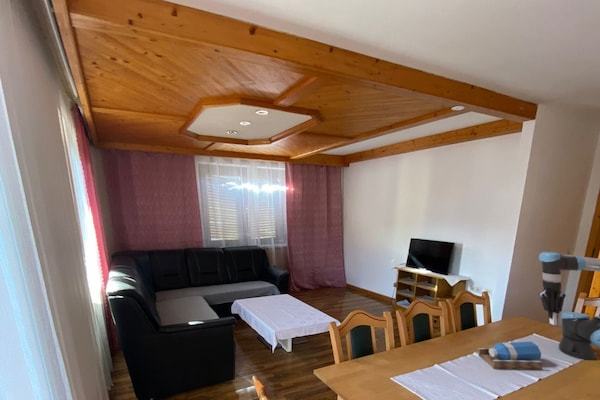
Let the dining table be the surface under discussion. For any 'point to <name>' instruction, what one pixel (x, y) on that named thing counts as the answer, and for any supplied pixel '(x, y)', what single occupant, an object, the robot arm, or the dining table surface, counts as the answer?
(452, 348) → the dining table surface
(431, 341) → the dining table surface
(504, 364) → the cradle
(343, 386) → the dining table surface
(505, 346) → the water bottle
